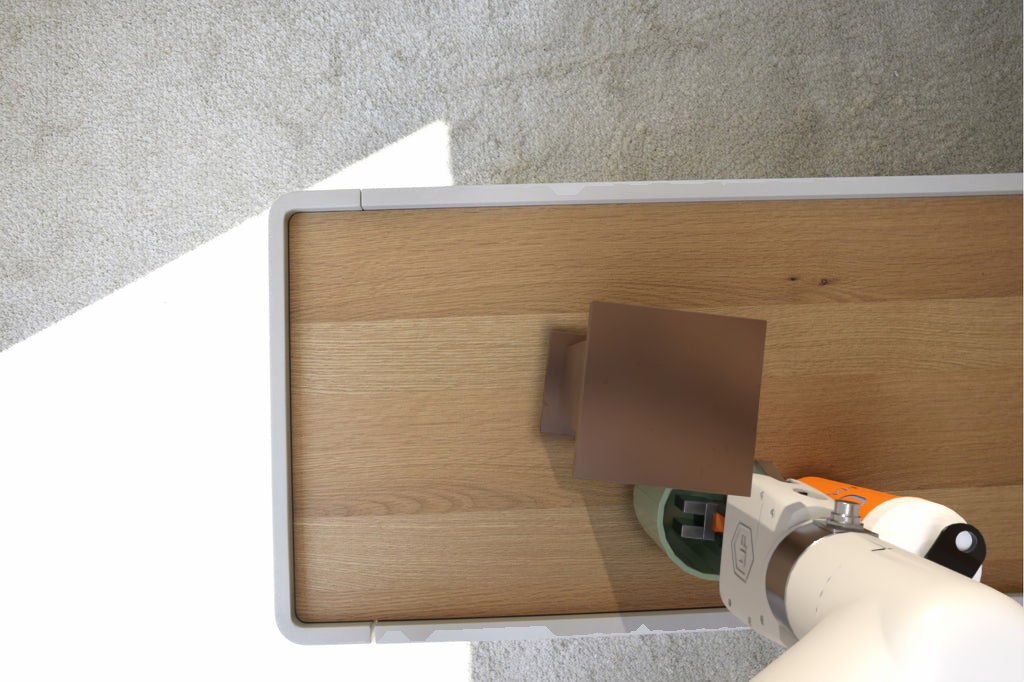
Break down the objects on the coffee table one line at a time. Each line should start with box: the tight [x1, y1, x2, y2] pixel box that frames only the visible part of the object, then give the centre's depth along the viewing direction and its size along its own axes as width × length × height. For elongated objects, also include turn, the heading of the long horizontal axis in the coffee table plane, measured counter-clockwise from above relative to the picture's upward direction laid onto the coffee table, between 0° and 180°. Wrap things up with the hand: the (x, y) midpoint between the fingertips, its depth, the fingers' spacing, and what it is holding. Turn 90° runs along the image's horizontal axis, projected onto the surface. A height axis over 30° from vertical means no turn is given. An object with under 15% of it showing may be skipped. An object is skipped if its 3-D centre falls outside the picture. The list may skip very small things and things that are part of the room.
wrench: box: [672, 494, 725, 540], centre depth 56 cm, size 6×3×3 cm, turn 84°
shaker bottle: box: [797, 476, 988, 583], centre depth 56 cm, size 9×9×20 cm
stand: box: [538, 299, 768, 497], centre depth 51 cm, size 10×10×29 cm
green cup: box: [632, 485, 725, 582], centre depth 60 cm, size 10×10×10 cm
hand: (725, 518), depth 57 cm, fingers closed on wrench
